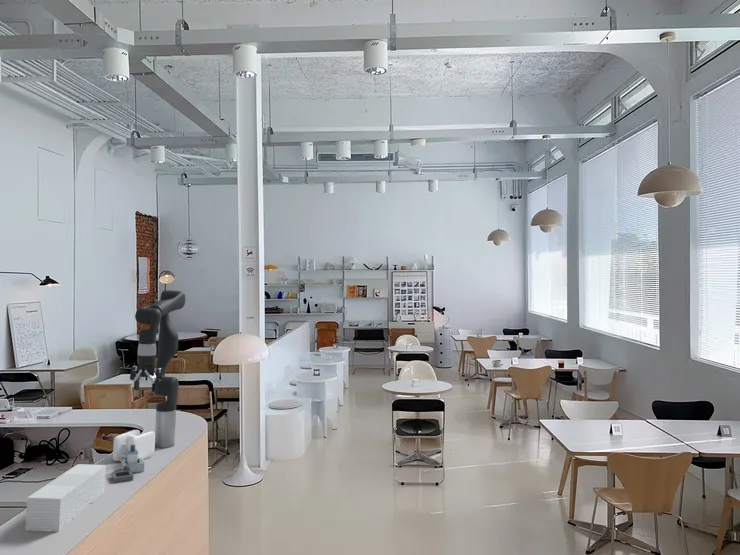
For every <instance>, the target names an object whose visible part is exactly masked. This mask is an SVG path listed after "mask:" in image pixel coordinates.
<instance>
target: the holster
mask: <svg viewBox="0 0 740 555" xmlns="http://www.w3.org/2000/svg"><path fill="white" fill-rule="evenodd" d="M133 474H134V473H132V472H131V470H126V471H122V470H120V471H112V472H111V479H112V482H113V483H114V484H117V483H124V482H132V481H134V475H133Z"/></svg>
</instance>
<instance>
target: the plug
mask: <svg viewBox="0 0 740 555" xmlns="http://www.w3.org/2000/svg"><path fill="white" fill-rule="evenodd" d="M126 459H127V465H128V464H136V463H138V451H137V449H135V445H134V444H133V445H131V450H127V458H126Z"/></svg>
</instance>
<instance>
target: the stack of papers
mask: <svg viewBox="0 0 740 555" xmlns="http://www.w3.org/2000/svg"><path fill="white" fill-rule="evenodd" d="M106 470H107V465H106V464H91V463H90V464H86V463H84V464H83V463H78V464H75V466H73V467H71V468H70V469H68V470H66V471H65V472H64V473H62V474H61V475H59V476H57V477H56V478H55V479H53V480H51V481H50V482H49V483H47V484H46V485H44V486H43V487H41V488H39V489H38V490H36V491H35V492H34V493H32V494H31V495H29V496H27V497H26V510H25V512H26V513H25V516H26V517H25V531H28V530H35V532H37V531H36V530H39V532H58V531H59V532H60V531H62V530H63V529H64V528H65V527H66V526H67V525H69V524H70V523H71V522H72V521H73V520H74V519H73V518H75V517H76V516H77V515H78V514H79V515H81V514H82V513H83V512H84V511H85V510H87V509H88V508H87V507H88V506H89V505H90V504H91V505H92V504H93V503H94V501H96V499H98V498H99V497H100V496H101V495H103V493H105V492H106V491H105V490H106V478H107V476H106V475H107V473H106V472H107V471H106ZM91 505H90V506H91ZM90 506H89V507H90ZM84 509H85V510H84ZM83 510H84V511H83ZM82 511H83V512H82ZM81 512H82V513H81ZM79 515H78V516H79ZM78 516H77V517H78ZM77 517H76V518H77ZM76 518H75V519H76ZM72 519H73V520H72ZM71 520H72V521H71ZM70 521H71V522H70ZM69 522H70V523H69ZM68 523H69V524H68ZM66 524H67V525H66ZM65 525H66V526H65ZM64 526H65V527H64ZM63 527H64V528H63ZM62 528H63V529H62ZM61 529H62V530H61ZM46 530H47V531H46ZM48 530H49V531H48ZM50 530H51V531H50Z"/></svg>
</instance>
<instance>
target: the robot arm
mask: <svg viewBox="0 0 740 555" xmlns="http://www.w3.org/2000/svg"><path fill="white" fill-rule="evenodd" d="M159 298H160V299H159V301H156V302H154V303H152V304H150V305H146V306H141V307H139V308H138V309H137V310H136V312H135V315H134V319H135V321H136V322H137V323H138V324H140V325H150V326H149V328H147V329H146V328H145V329H141V330H140V331H139V333H138V346H137V358H136V359H137V365H131V366H130V373H129V374H130V375H129V380H130V381H131V380H132V381H133V389H134V391H139V390H140V380H141V378H148V379H149V380H150V381H151V392H152V393H154V395H156V396H160V397H161V396H163V397H164V396H165V397H167V398H166V400H164V401H162V402H158V403H157V404H156V405H155V427H154V433H155V447H156V448H163V449H164V448H171V447H174V446H175V444H176V443H175V441H176V440H175V439H176V423H177V422H176V418H177V404H178V398H179V397H178V396H179V387H180V386H179V382H180V381H179V379H178V378H177V377H175V376H165V374H166V370H167V367H168V364H169V363H170V362H171V361H172V359H173V358H174V356H175V355H176V353H177V352H178V348H179V334H178V331H177V330H176V327H175V326H174V324H173V323H172V320H171V318H170V313H171V312H175V311H178V310H182V309H183V308H184V306H185V305H186V294H185V293H184V292H183V291H180V290H172V289H171V290H168V289H166V290H162V292H161V294H160V297H159ZM158 330H159V332H158ZM157 334H158V338H157Z"/></svg>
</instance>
